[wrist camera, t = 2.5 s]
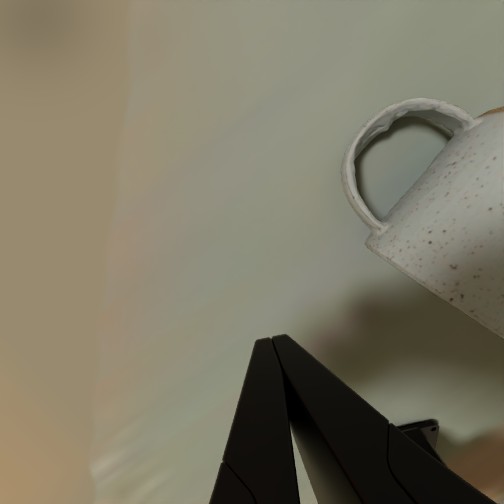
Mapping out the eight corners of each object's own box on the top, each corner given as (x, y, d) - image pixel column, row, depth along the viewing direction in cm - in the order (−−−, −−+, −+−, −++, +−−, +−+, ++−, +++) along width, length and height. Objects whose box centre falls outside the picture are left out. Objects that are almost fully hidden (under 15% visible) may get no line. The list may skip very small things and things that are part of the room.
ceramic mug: (526, 176, 17) (756, 211, 10) (427, 287, 19) (555, 382, 12) (399, 52, 13) (606, -30, 6) (296, 204, 16) (367, 266, 9)
